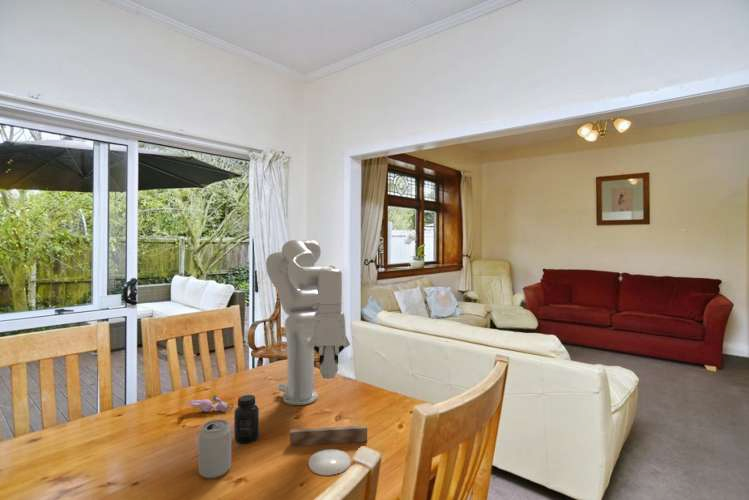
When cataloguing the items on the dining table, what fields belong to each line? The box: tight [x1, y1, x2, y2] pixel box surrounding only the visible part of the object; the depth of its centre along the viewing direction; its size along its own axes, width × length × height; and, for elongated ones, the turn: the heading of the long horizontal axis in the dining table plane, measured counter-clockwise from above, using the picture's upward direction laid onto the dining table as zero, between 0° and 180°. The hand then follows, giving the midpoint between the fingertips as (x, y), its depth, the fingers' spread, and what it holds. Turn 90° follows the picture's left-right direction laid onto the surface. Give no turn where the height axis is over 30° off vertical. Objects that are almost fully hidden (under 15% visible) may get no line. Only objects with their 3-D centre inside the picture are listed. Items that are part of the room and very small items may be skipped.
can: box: [198, 418, 232, 479], centre depth 95 cm, size 8×8×12 cm
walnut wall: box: [289, 425, 368, 447], centre depth 109 cm, size 22×2×4 cm, turn 98°
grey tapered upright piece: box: [319, 346, 339, 380], centre depth 119 cm, size 6×6×13 cm
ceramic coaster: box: [308, 448, 352, 476], centre depth 100 cm, size 11×11×1 cm
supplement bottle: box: [233, 394, 260, 445], centre depth 111 cm, size 7×7×12 cm
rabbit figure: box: [185, 394, 235, 413], centre depth 128 cm, size 6×6×15 cm
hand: (328, 366), depth 119 cm, fingers closed on grey tapered upright piece, 3 cm apart
